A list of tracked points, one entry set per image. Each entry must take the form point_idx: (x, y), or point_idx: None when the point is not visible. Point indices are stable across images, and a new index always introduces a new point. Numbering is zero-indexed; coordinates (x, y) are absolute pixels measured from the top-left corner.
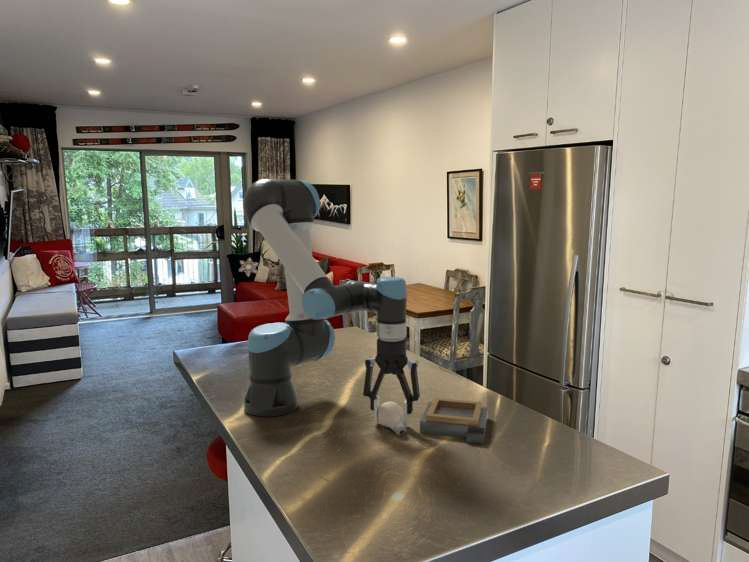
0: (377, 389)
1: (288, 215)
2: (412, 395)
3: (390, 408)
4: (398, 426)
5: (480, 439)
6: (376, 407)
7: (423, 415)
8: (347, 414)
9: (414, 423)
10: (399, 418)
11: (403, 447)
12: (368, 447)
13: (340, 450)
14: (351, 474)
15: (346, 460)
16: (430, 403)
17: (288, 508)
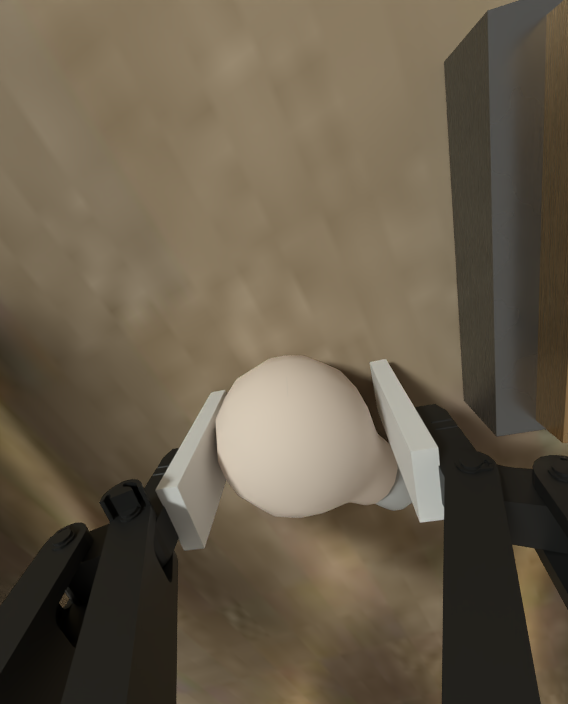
0: (175, 646)
1: None
2: (515, 512)
3: (318, 513)
4: (388, 507)
5: None
6: (216, 503)
7: (500, 348)
8: (30, 364)
9: (402, 308)
10: (380, 484)
11: (434, 540)
12: (311, 578)
13: (240, 618)
14: (347, 694)
15: (293, 652)
16: (509, 56)
17: None
